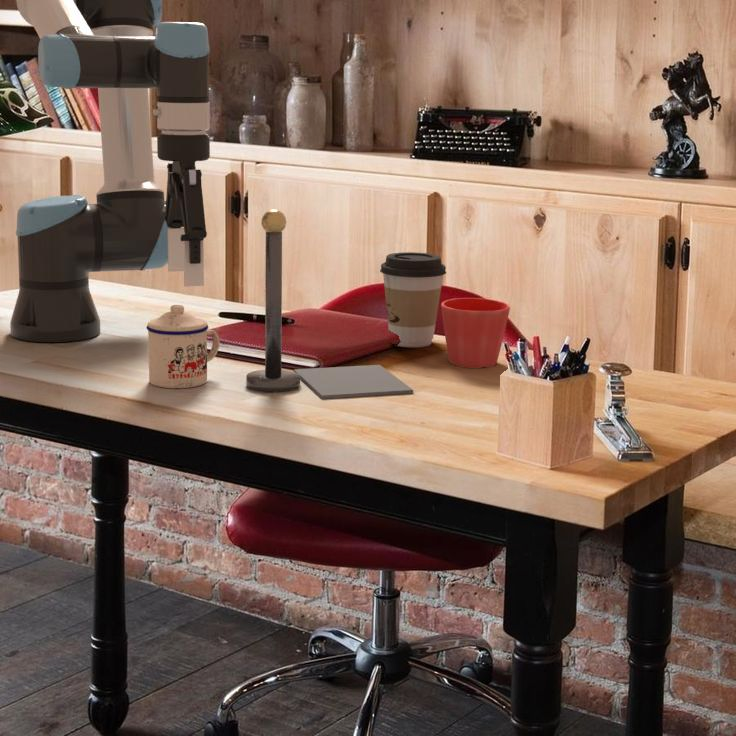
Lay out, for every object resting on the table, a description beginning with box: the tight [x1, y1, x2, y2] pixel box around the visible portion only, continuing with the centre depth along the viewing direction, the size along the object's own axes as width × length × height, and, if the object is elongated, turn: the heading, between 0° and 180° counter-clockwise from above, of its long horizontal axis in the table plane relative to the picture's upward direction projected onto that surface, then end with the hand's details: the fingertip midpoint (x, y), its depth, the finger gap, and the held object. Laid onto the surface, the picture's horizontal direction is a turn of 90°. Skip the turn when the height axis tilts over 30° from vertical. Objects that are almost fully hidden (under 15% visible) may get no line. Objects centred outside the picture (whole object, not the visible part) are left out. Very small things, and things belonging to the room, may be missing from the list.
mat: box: [293, 364, 414, 400], centre depth 202 cm, size 16×14×1 cm
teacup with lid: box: [146, 304, 220, 389], centre depth 200 cm, size 12×9×12 cm
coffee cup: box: [379, 251, 447, 348], centre depth 228 cm, size 11×11×15 cm
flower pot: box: [440, 297, 511, 369], centre depth 215 cm, size 11×11×10 cm
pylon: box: [245, 209, 301, 394], centre depth 196 cm, size 8×8×26 cm
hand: (185, 278), depth 197 cm, fingers open, 13 cm apart
